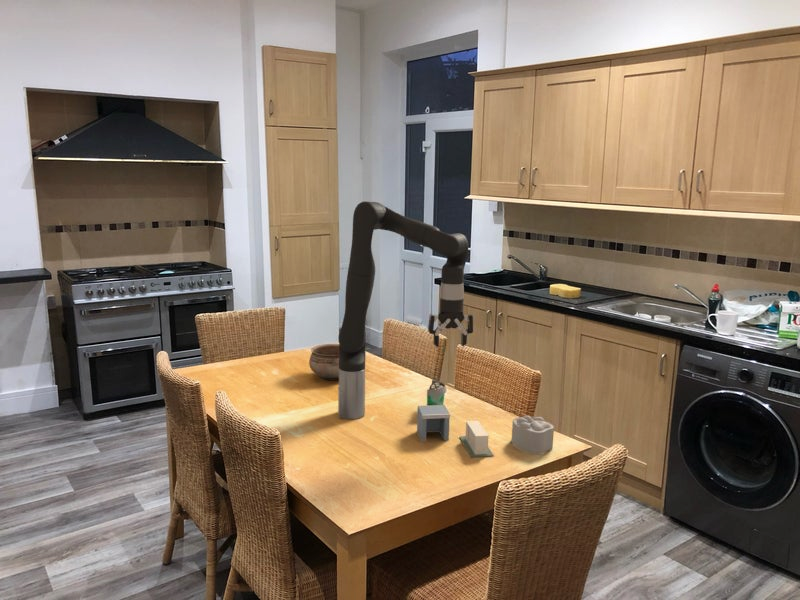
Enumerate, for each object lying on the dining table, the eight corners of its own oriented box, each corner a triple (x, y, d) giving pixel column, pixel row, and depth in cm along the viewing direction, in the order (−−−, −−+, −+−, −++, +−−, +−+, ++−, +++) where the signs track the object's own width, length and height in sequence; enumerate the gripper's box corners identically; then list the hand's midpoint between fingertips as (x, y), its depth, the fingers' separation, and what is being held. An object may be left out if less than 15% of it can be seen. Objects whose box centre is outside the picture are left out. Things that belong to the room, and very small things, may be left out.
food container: (443, 418, 224) (444, 391, 222) (426, 416, 225) (426, 390, 223) (447, 406, 236) (448, 380, 234) (431, 404, 237) (432, 379, 235)
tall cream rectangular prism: (474, 454, 195) (475, 436, 194) (465, 438, 207) (466, 421, 205) (487, 454, 196) (488, 435, 194) (477, 438, 207) (478, 420, 206)
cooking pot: (367, 381, 262) (368, 353, 260) (328, 390, 251) (328, 360, 248) (335, 366, 281) (335, 339, 279) (297, 373, 270) (297, 346, 268)
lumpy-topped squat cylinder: (536, 456, 196) (538, 429, 194) (503, 442, 205) (505, 417, 204) (556, 447, 203) (558, 421, 201) (523, 434, 212) (525, 409, 210)
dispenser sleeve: (421, 441, 204) (422, 415, 203) (417, 431, 213) (417, 405, 211) (449, 440, 206) (450, 414, 204) (443, 430, 214) (444, 404, 212)
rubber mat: (471, 457, 194) (471, 456, 194) (459, 437, 208) (459, 436, 208) (493, 456, 195) (493, 455, 195) (480, 436, 209) (480, 435, 209)
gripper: (432, 299, 197) (430, 349, 201) (476, 298, 200) (474, 348, 203) (427, 294, 205) (426, 343, 208) (470, 294, 207) (468, 342, 210)
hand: (450, 346), depth 205 cm, fingers open, 8 cm apart
